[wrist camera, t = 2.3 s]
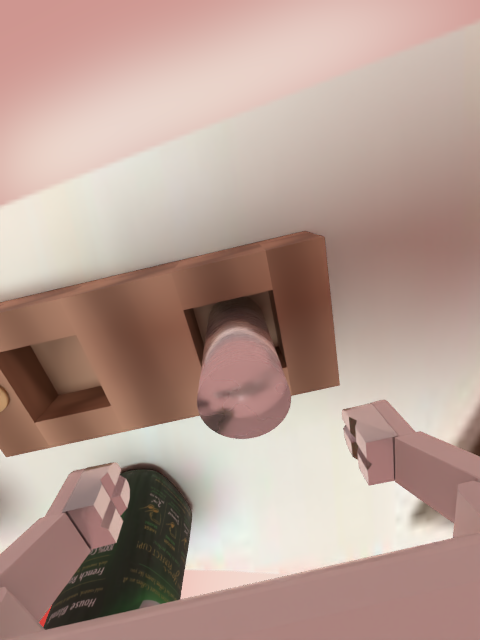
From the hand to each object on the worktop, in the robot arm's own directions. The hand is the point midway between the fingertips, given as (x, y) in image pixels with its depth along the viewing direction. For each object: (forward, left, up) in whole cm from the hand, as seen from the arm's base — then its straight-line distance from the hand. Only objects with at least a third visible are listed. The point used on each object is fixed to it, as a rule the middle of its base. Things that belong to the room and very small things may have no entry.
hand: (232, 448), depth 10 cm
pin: (-1, 0, -11) cm, 11 cm away
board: (+5, 0, -12) cm, 13 cm away
